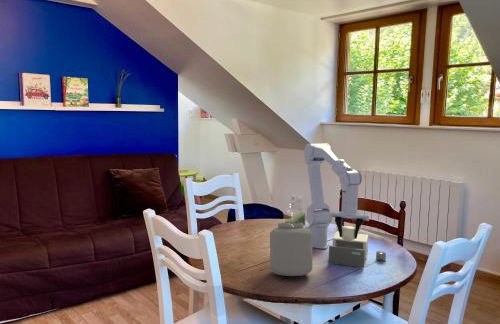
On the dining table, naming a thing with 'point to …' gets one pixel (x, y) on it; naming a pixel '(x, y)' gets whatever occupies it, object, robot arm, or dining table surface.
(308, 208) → the robot arm
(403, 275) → the dining table surface
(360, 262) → the grey box with handle
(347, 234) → the cream cylinder
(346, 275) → the dining table surface
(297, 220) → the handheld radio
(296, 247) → the jar
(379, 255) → the stand
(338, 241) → the box
